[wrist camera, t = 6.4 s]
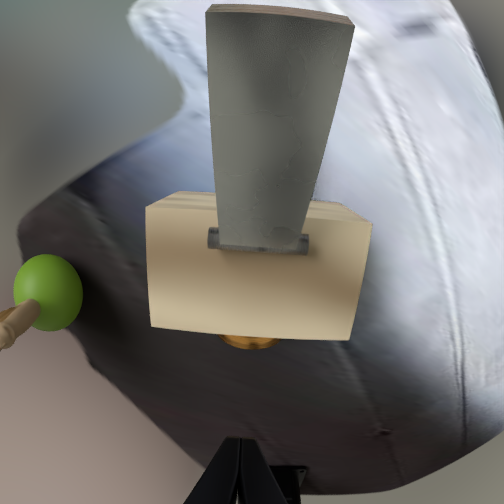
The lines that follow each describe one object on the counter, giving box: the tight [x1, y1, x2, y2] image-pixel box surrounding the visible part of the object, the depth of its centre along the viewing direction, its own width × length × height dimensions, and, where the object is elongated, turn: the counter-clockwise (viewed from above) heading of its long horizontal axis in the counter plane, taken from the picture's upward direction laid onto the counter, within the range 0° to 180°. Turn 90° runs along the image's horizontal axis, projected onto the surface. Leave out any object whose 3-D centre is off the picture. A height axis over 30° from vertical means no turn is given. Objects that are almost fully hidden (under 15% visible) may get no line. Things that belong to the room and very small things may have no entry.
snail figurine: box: [0, 254, 83, 351], centre depth 15 cm, size 5×6×12 cm
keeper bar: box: [205, 4, 355, 256], centre depth 9 cm, size 10×4×1 cm
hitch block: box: [146, 191, 373, 340], centre depth 17 cm, size 6×10×6 cm, turn 86°
